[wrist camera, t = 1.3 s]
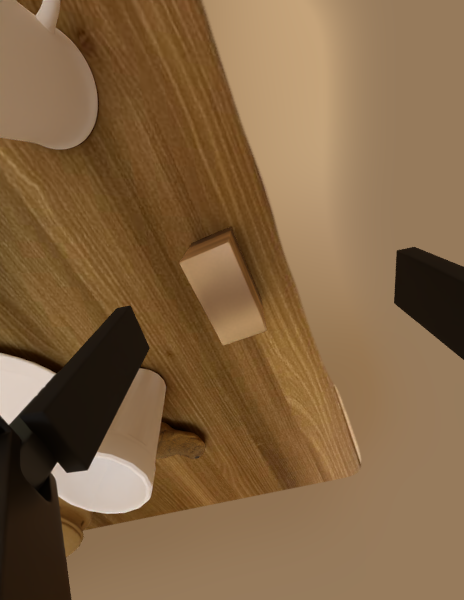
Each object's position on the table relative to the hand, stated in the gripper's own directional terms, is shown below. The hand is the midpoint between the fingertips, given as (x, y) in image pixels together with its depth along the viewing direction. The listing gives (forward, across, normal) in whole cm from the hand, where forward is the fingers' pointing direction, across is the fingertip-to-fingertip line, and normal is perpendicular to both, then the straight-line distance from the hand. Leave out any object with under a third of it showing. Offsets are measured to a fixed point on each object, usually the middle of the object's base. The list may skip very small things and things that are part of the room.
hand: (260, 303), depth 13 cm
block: (+15, -3, -3) cm, 16 cm away
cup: (+16, -18, -17) cm, 29 cm away
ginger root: (+16, -18, -29) cm, 37 cm away
